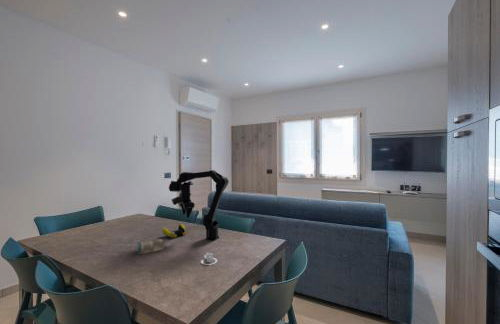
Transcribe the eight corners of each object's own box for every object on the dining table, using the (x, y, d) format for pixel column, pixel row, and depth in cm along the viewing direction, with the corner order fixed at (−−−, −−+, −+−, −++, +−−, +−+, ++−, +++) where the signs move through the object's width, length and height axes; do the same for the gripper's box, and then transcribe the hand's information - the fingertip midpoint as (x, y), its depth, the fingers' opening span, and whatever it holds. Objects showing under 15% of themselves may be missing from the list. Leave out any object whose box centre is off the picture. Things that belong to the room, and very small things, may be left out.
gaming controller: (161, 236, 148) (169, 240, 141) (161, 228, 148) (169, 231, 141) (181, 231, 159) (190, 234, 152) (181, 223, 159) (190, 225, 152)
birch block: (161, 238, 130) (137, 243, 124) (163, 241, 126) (138, 245, 120) (161, 246, 130) (137, 251, 124) (163, 249, 126) (138, 254, 120)
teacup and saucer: (203, 257, 116) (203, 249, 116) (219, 258, 116) (219, 249, 116) (198, 265, 107) (198, 257, 107) (215, 266, 107) (215, 257, 107)
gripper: (169, 191, 151) (169, 214, 151) (176, 194, 135) (176, 221, 135) (186, 189, 156) (186, 212, 157) (194, 193, 140) (194, 218, 141)
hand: (185, 216), depth 147 cm, fingers open, 9 cm apart
